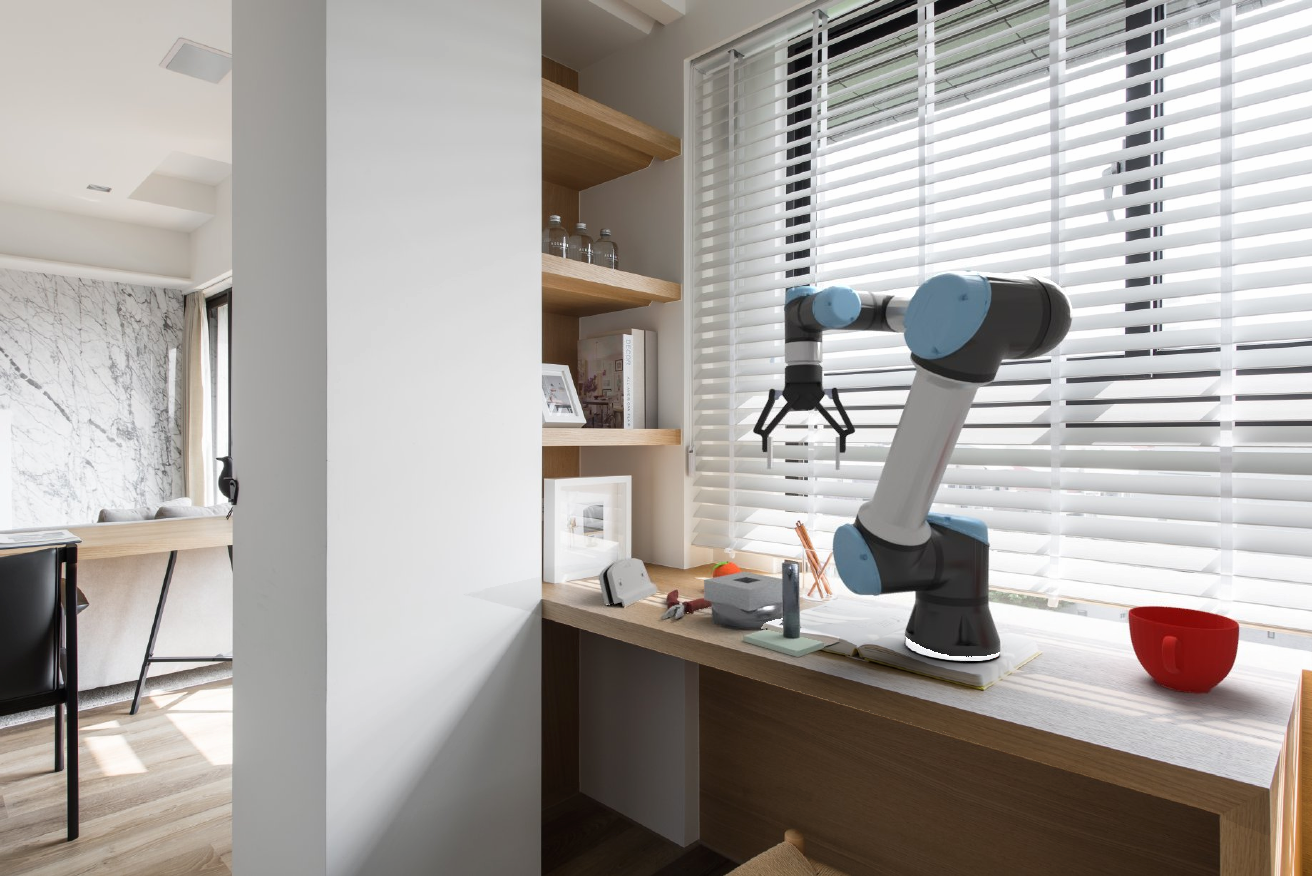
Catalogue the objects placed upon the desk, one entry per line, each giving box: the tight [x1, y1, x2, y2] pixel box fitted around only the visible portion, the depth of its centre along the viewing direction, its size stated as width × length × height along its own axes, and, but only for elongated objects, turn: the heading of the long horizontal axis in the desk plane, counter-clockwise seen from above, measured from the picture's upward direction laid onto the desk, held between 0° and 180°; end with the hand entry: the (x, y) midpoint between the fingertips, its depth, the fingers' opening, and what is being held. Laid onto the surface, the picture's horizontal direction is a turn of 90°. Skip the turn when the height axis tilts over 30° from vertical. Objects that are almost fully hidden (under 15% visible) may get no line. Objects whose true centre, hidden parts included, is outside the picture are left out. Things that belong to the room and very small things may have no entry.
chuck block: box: [703, 571, 783, 631], centre depth 139 cm, size 14×14×8 cm
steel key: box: [781, 561, 801, 639], centre depth 125 cm, size 6×3×13 cm, turn 161°
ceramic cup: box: [1127, 605, 1240, 694], centre depth 101 cm, size 13×17×10 cm
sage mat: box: [743, 629, 825, 658], centre depth 125 cm, size 12×12×1 cm
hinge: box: [598, 557, 659, 607], centre depth 159 cm, size 17×5×10 cm, turn 154°
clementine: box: [710, 561, 742, 578], centre depth 164 cm, size 8×7×7 cm
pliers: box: [661, 589, 712, 620], centre depth 148 cm, size 12×20×3 cm, turn 161°
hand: (803, 469), depth 143 cm, fingers open, 13 cm apart
